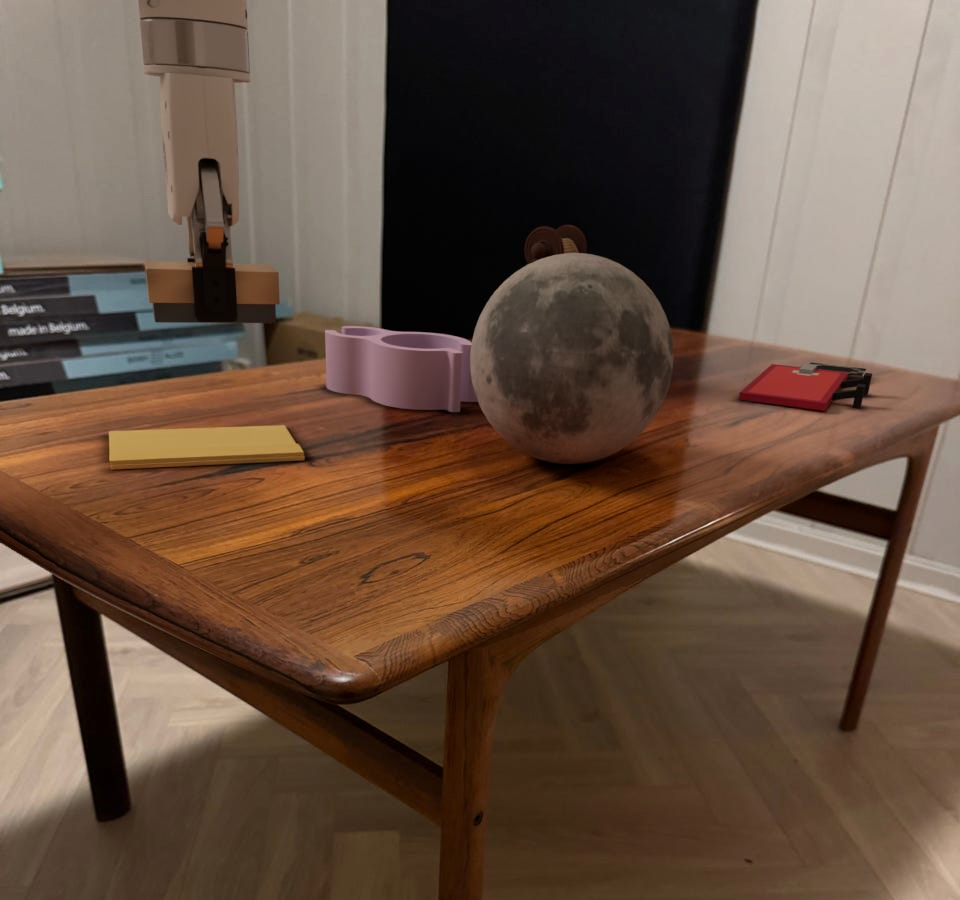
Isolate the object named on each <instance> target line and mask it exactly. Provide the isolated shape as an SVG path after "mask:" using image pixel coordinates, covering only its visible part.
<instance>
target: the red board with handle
mask: <svg viewBox="0 0 960 900" xmlns="http://www.w3.org/2000/svg"><path fill="white" fill-rule="evenodd" d="M866 371H867V368H864V367H854V366H846V365H838V364H837V365H836V364H829V363H828V364H827V363H819V362H810V363H803V365H802V366H793V365H784V364H776V363H771V364H770V365H769V366H768V367H767V368H766V369H764V370H763V371H762V372H761V373H760V374H759V375H758V376H756V377H755V378H754V379H753V380H752V381H751V382H749V384H747V385H746V386H745V387H743V389H741V390H740V391H739V394H738V400H740V401H741V400H742V401H749V402H757V403H763V404H764V403H765V404H772V405H780V406H787V407H795V408H803V409H809V410H810V409H811V410H819V411H826V410H827V408H829V407H828V406H830V404H831V403H832V401H839V400H847V399H853V401H852V407H851V408H853V409H860V408H861V407H862V404H863V400H864V397H868V395H869V391H870V388H871V382H872V377H873V373H871V372H866ZM849 376H855V377H860V378H854V379H848V377H849ZM850 388H855V389H850ZM842 389H848V390H842Z"/></svg>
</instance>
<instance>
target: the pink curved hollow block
mask: <svg viewBox="0 0 960 900" xmlns="http://www.w3.org/2000/svg"><path fill="white" fill-rule="evenodd" d="M324 336H325V337H324V338H325V339H324V340H325V341H324V342H325V343H324V344H325V345H324V347H325V348H324V349H325V387H326V389H327V390H329V391H331V392H334V393H339V394H345V395H356V396H361V397H367V398H368V399H371V401H372V402H375V403H377V404H380V405H382V406H387V407H392V408H397V409H404V410H415V411H416V410H417V411H439V410H445V411H448V412H450V413H460V412H461V402H464V403H478V400H477V398H476V395H475V391H474V388H473V384H472V377H471V371H470V354H471V345H472V341H470V340H468V339H466V338H464V337H460V336H455V335H451V334H446V333H439V332H438V333H436V332H425V331H423V332H422V331H396V330H389V329H384V328H381V327H372V326H361V325H359V326H358V325H344V326H341V333H340V332H337V330H336V329H325V330H324Z"/></svg>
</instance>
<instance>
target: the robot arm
mask: <svg viewBox="0 0 960 900" xmlns="http://www.w3.org/2000/svg"><path fill="white" fill-rule="evenodd" d="M137 2H138V12H139V20H140V21H139V27H140V38H141V50H142V51H141V52H142V60H143V72H144V73H143V74H144V75H147V76H153V77H160V79H159V81H160V84H159V95H160V96H159V97H160V98H159V99H160V101H159V102H160V121H161V136H162V137H161V138H162V150H163V163H164V172H165V173H164V175H165V185H166V199H167V214H168V216H169V217H170V219H171V220H172V221H173V222H174V223H175V224H176V225H177V226H182V225H183V217H184V218H185V217H186V224H187V241H188V253H189V254H188V255H189V257H186V260H187V261H186V262H195V266H196V267H192V277H193V290H194V303H195V316H196V319H197V320H198V321H200V322H235V321H236V320H237V319H238V313H237V295H236V277H235V268H233V263H234V261H233V249H232V239H231V227H234V226H235V225H236V224H237V223H238V222H239V220H240V165H239V163H240V162H239V142H238V140H239V139H238V124H237V123H238V121H237V105H236V104H237V103H236V87H235V85H236V84H237V83H239V84H241V83H242V84H243V83H246V84H247V83H251V74H250V73H251V71H250V69H251V67H250V65H251V64H250V46H249V43H250V42H249V31H248V30H249V29H248V28H249V27H248V5H247V0H137ZM235 83H236V84H235Z"/></svg>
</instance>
